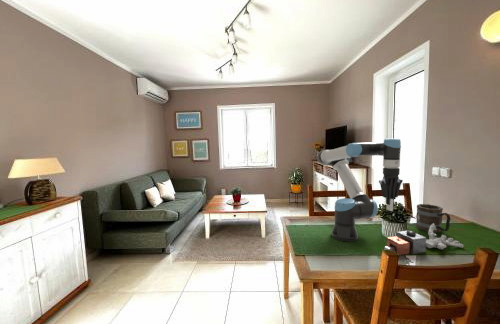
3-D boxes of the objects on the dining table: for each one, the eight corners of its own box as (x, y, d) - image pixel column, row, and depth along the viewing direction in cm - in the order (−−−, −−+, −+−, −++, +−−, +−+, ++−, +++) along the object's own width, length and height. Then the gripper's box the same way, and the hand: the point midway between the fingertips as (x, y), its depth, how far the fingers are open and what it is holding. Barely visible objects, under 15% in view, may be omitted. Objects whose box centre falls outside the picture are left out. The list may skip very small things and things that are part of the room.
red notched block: (396, 246, 123) (396, 236, 122) (409, 253, 115) (409, 242, 114) (387, 247, 122) (387, 237, 121) (399, 254, 114) (399, 243, 113)
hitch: (408, 243, 126) (408, 227, 125) (425, 252, 116) (426, 234, 115) (379, 247, 122) (379, 231, 121) (394, 256, 112) (395, 239, 111)
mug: (410, 225, 152) (411, 204, 150) (427, 224, 154) (428, 203, 153) (439, 237, 132) (440, 213, 131) (457, 235, 135) (459, 211, 133)
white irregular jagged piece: (409, 224, 130) (437, 222, 134) (407, 237, 132) (434, 235, 136) (442, 240, 112) (473, 238, 116) (439, 255, 114) (469, 252, 117)
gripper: (386, 168, 112) (384, 213, 114) (407, 167, 114) (405, 211, 117) (375, 167, 120) (374, 209, 122) (395, 166, 122) (394, 207, 124)
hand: (389, 210), depth 119 cm, fingers closed
